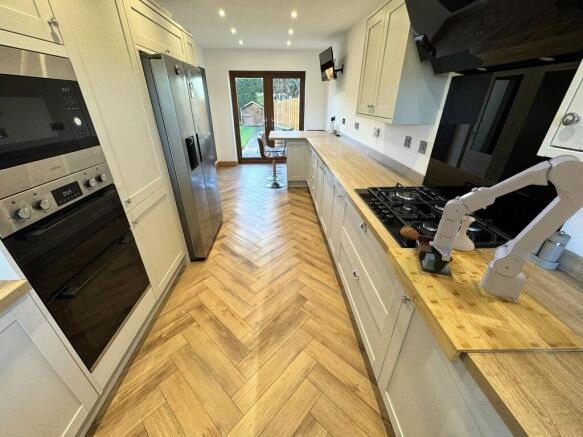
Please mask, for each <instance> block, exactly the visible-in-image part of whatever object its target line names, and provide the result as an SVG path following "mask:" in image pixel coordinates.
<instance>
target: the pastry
mask: <svg viewBox="0 0 583 437" xmlns="http://www.w3.org/2000/svg"><path fill="white" fill-rule="evenodd" d="M399 233H400V235H401V236H402V237H404V238H405V239H410V240H413V241H417V238H418V235H421V234H420V233H419V232H418V230H416V229H415V228H413V227H411V226H409V225H405V226H403V227H402V228H401V229H400V231H399Z"/></svg>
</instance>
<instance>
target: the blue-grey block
mask: <svg viewBox="0 0 583 437" xmlns="http://www.w3.org/2000/svg"><path fill="white" fill-rule="evenodd" d="M424 259H425V260H423V261H422V263H423V267H424V269H430V270H434V261H435V258H434V254H429V253H425V257H424ZM448 266H449V265H448ZM448 266H447V265H445V267H444V268H443V269H442V270H441V271H440V272H445V273H449V269H450V267H449V268H448Z"/></svg>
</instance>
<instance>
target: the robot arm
mask: <svg viewBox="0 0 583 437" xmlns="http://www.w3.org/2000/svg"><path fill="white" fill-rule="evenodd" d="M548 181H550V182H551V183H552V184H553V185H554V187H555V190H556V194H557V196H556V197H555V198H554V199H553V200H552V201H551V202H550V203H549V204H548V205H546V207H545V208H544V209H542V210H541V212H540V213H539V214H538V215H536V217H535V218H533V220H531V222H530V223H528V225H526V227H525V228H523V230H521V231H520V233H518V235H516V236H515V237H514V238H513V239H510V240H508V241H507V242H506V243H505V244H502V245H500V246H497V247H496V248H495V250H494V252H493V256H494V257H493V258H494V259H493V260H492V261H489V262H488V264H487V267H486V269H485V271H484V272H483V275H482V278H481V279H480V282H479V287H480V288H481V289H482V290H483V291H484V292H486V293H488V294H489V295H492V296H495V297H500V298H510V299H512V300H513V302H514V303H515V304H518V303H519V301H518V299H519V298H520V296H521V294H522V293H523V291H524V289H525V286H526V285H527V278H526V275H525V274H524V273H523V272H522V271H523V267H524V265H525V264H526V263H527V262H528V260H529V258H530V256H531V255H532V253H533V252H534V251H535V250H536V249H537V248H539V246H541V245H542V244H543V243H544V242H545V241H546V240H547V239H548V238H550V237H551V236H552V235H553V234H554V233H555V232H557V231H558V230H559V228H561V227H562V226H563V225H564V224H565V223H566V222H567V221H569V220H570V219H571V218H572V217H573V216H574V215H576V213H578V212H579V211H580V210H581V209H582V208H583V161H582V160H581V159H580V158H579V157H578V156H576V155H572V154H560V155H557V156H554V157H552V158H551V159H549V160H545V161H541V162H539V163H537V164H535V165H533V166H530V167H529V168H526V169H525V170H522V171H521V172H519V173H516V174H514V175H513V176H511V177H509V178H507V179H505V180H503V181H501V182H499V183H497V184H495V185H492V186H491V187H486V186H485V187H484V186H481V187H477V186H476V187H474V188H472V189H471V191H469V192H468V193H465V194H464V195H461V196H460V195H458V196H456V197H455V198H453V199H450V200H448V201H447V202H446V203H445V205H444V207H443V210H442V215H441V219H440V220H439V223H438V227H437V230H436V233H435V235H434V237H435V238H434V241H433V242H431V241H430V242H429V244H430V246H431V254H434V258H435V261H434V271H439V272H440V271H441V270H442V269H443V268H444V267H445V265H447V264H448V265H449V263H451V262H453V261H454V258H453V256H452V251H453V250H454V249H453V244H454V241H455V238H456V235H457V233H458V232H459V231H460V228H461V222H462V218H463V217H464V216H466V215H467V214H468V213H472V212H473V213H474V212H477V211H478V210H481V209H483V207H486V208H487V207H488V206H490V205H493V204H494V203H495V200H496V198H498V197H501V196H504V195H506V194H509V193H512V192H514V191H516V190H519V189H522V188H524V187H528V186H529V185H535V186H536V185H537V186H549V184H548Z"/></svg>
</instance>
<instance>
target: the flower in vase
mask: <svg viewBox="0 0 583 437" xmlns="http://www.w3.org/2000/svg"><path fill="white" fill-rule="evenodd" d="M482 209H483V210H485V209H487V206H486V207H483V208H482ZM474 214H475V213H474V212H471V213H467V215H465V216H464V217H463V218H462V219H461V224H460V228H459V230H458V233H457V235H456V238H455V241H454V244H453V249H452V250H456V251H459V252H471V251H474V250H475V243H474V242H473V241H472V240H471V239H470V238H469V237H468V236H467V231H468V229H469V227H470V226H471V224H472V223H473V222H475V221H476V218H474V217H472V216H471V215H474ZM469 215H470V216H469Z"/></svg>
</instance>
